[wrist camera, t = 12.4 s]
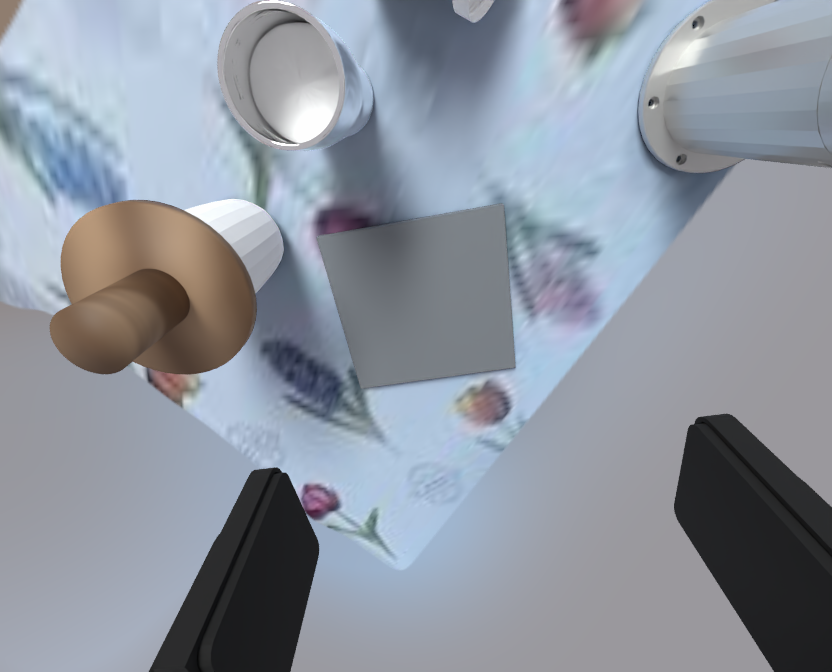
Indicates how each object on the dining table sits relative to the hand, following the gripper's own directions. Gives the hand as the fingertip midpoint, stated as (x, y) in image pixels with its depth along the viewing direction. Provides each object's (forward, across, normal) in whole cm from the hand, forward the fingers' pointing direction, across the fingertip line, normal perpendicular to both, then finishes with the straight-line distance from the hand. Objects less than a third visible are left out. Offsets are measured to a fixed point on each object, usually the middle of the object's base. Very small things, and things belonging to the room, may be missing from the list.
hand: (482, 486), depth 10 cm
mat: (+32, +3, +9) cm, 34 cm away
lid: (+18, +19, -1) cm, 26 cm away
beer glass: (+32, +7, -11) cm, 35 cm away
